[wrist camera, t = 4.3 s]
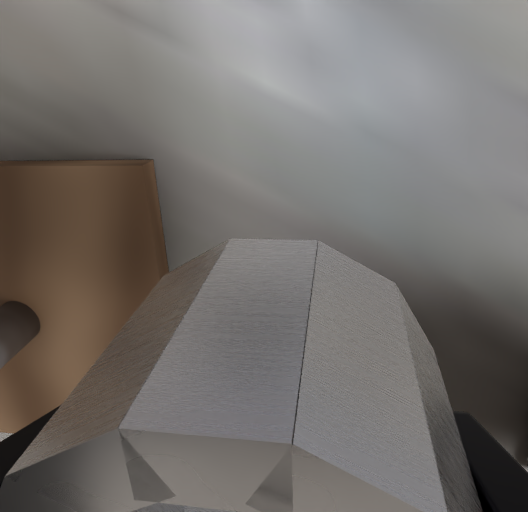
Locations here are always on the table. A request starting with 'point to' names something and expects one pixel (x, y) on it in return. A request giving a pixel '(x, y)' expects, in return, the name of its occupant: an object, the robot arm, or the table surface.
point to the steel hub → (256, 399)
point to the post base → (70, 272)
